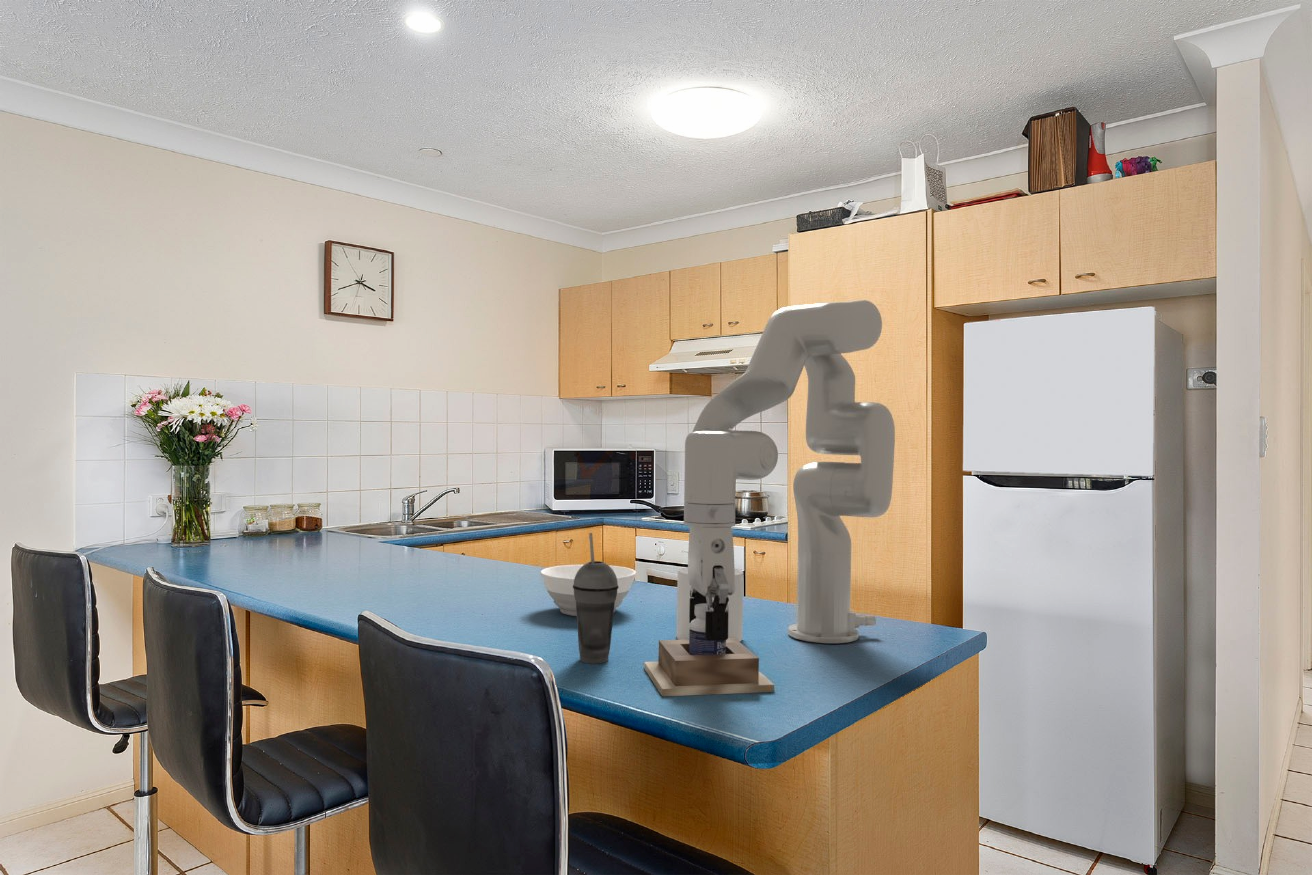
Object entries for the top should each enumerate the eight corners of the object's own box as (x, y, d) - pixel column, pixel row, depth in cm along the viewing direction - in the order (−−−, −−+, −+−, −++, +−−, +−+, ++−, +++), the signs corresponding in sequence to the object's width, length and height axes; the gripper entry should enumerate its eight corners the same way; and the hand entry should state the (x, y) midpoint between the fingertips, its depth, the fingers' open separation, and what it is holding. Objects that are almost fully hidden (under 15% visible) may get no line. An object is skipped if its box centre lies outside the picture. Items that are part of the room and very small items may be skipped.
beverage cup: (599, 668, 125) (601, 537, 125) (561, 660, 129) (564, 533, 129) (626, 658, 131) (628, 533, 131) (589, 651, 135) (591, 529, 135)
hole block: (744, 664, 129) (745, 636, 129) (774, 691, 115) (774, 659, 115) (644, 668, 126) (644, 638, 126) (662, 696, 112) (662, 663, 112)
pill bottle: (723, 678, 117) (724, 610, 117) (685, 675, 118) (687, 608, 118) (727, 668, 123) (728, 603, 123) (691, 666, 124) (692, 601, 124)
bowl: (633, 623, 157) (634, 580, 157) (532, 621, 157) (533, 578, 158) (637, 603, 177) (637, 565, 177) (547, 601, 177) (547, 563, 177)
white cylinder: (685, 647, 139) (686, 576, 139) (670, 631, 151) (671, 566, 151) (751, 645, 142) (752, 575, 142) (731, 629, 153) (732, 565, 153)
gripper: (752, 520, 113) (750, 645, 113) (718, 509, 130) (717, 618, 130) (698, 521, 111) (697, 647, 111) (672, 510, 128) (670, 619, 128)
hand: (707, 631), depth 120 cm, fingers open, 9 cm apart
